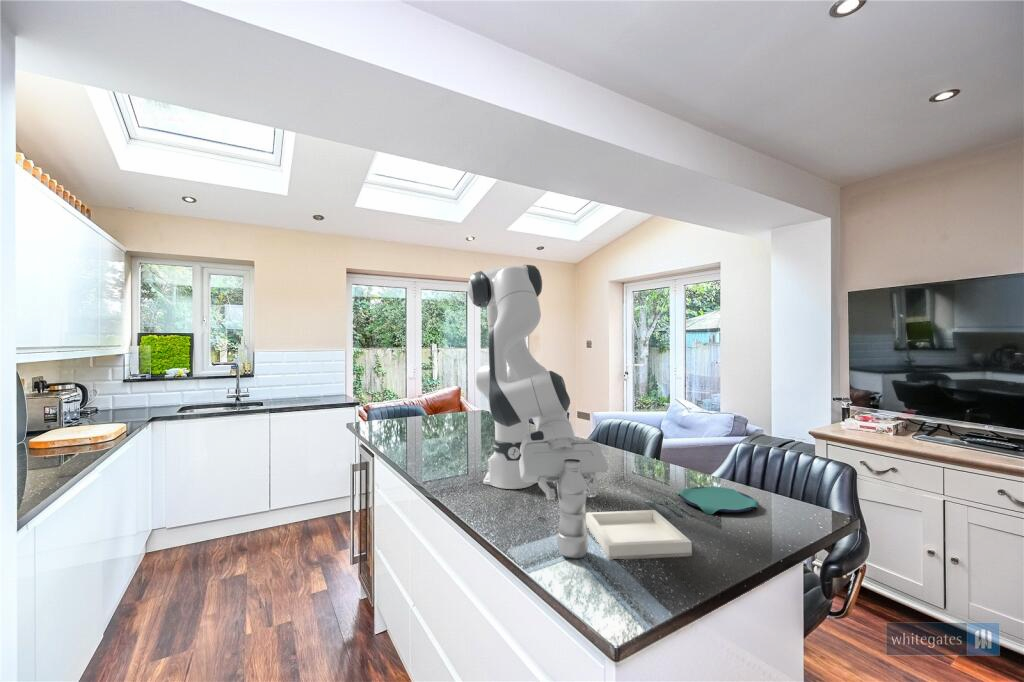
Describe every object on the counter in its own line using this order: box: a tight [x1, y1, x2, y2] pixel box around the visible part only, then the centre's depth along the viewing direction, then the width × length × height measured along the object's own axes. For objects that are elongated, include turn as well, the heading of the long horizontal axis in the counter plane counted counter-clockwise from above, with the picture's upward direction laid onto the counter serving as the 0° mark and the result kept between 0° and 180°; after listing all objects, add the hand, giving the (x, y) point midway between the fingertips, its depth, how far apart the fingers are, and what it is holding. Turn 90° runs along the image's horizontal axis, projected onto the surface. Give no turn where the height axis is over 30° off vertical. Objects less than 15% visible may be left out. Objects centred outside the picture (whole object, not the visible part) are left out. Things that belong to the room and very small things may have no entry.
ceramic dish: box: [585, 509, 693, 561], centre depth 99 cm, size 18×18×3 cm
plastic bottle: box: [556, 459, 590, 559], centre depth 92 cm, size 6×7×20 cm
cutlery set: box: [646, 485, 760, 519], centre depth 121 cm, size 20×30×2 cm, turn 99°
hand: (572, 497), depth 92 cm, fingers open, 8 cm apart
